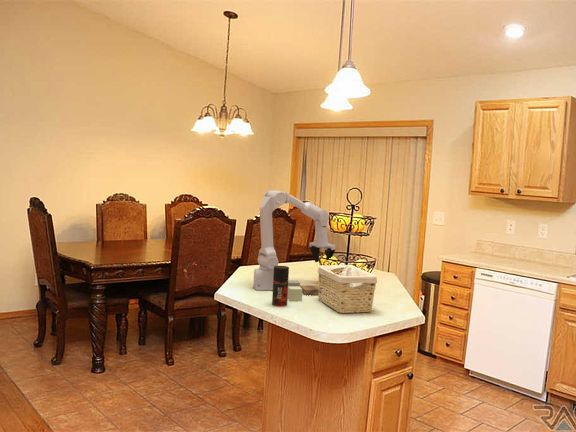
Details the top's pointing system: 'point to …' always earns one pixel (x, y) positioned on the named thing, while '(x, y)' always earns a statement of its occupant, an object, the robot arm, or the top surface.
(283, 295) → the deodorant
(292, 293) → the beige cube
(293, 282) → the slate cube
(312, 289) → the walnut slab
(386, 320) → the top surface
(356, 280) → the storage basket
